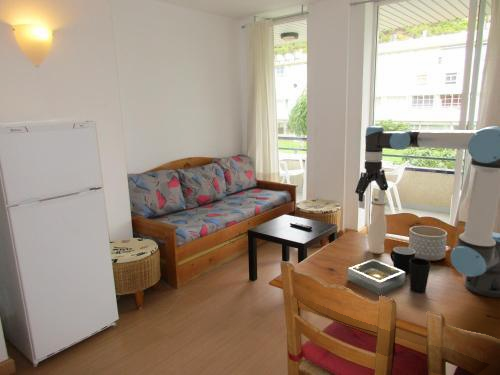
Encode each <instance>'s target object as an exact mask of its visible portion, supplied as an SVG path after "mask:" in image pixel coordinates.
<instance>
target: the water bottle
mask: <svg viewBox="0 0 500 375" xmlns="http://www.w3.org/2000/svg"><path fill="white" fill-rule="evenodd" d="M370 204H371V205H372V207H371V211H370V223H369V226H368V230H367V236H366V239H367V240H366V241H367V244H368V245H367V247H368V252H370V253H373V254H377V255H378V254H383V253H384V252H385V244H384V243H385V240H386V236H387V229H388V227H387V226H388V225H387V217H386V214H385V213H386V212H385V208H386V207H385V206H386V205H387V203H386V201H385V199H384V204H380V203H378V196H377V195H376V196H373V200H372V201H370Z"/></svg>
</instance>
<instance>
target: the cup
mask: <svg viewBox="0 0 500 375" xmlns="http://www.w3.org/2000/svg"><path fill="white" fill-rule="evenodd" d="M409 264H410V274H409V289H410V291H411V292H413V293H417V294H424V293H426V290H427V285H428V280H429V275H430V269H431V265H432V264H431V261H428V260H425V259H421V258H416V257H415V258H412V259H410V260H409Z"/></svg>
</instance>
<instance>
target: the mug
mask: <svg viewBox="0 0 500 375" xmlns="http://www.w3.org/2000/svg"><path fill="white" fill-rule="evenodd" d="M389 256H390V260H391V261H392V264H393V267H394V268H397V269H399V270H402V271H405V276H407V275H410V264H409V260H410V259H412V258H416V257H415V251H414V250H413V249H411V248H408V247H407V246H396V247H394V248H393V249H392V250H391V252H390V255H389Z"/></svg>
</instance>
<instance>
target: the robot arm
mask: <svg viewBox="0 0 500 375" xmlns="http://www.w3.org/2000/svg"><path fill="white" fill-rule="evenodd" d="M384 129H385V128H384V127H383V126H381V125H380V126H377V125H375V126H374V125H373V126H367V127H366V129H365V135H364V137H365V141H364V142H365V149H364V151H365V152H364V160H365V161H364V170H365V172H360V177H359V179H358V183H357V186H356V188H355V190H354V191H355V194H357V195H358V208H359V209H362V210H363V209H364V210H365V207H366V206H365V205H366V194H365V192H366V191H367V189H368V187H369V185H370V184H371V183H372V182H374V181H375V183H376V185H377V187H378V194H377V195H378V203H380V204H384V200H385V194H386V191H387V190H388V189H389V185H388V182H387V181H388V180H387V178H386V174H385V173H386V172H385V169H382V167H383V162H382V160H383V149H385V150H386V149H387V150H395V151H399V150H400V151H401V150H403V151H404V150H406V149H407V148H427V149H428V148H429V149H443V150H444V149H445V150H448V149H449V150H464V151H465V150H467V151H468V153H469V155H470V158H471V161H470V165H471V167H473V169H474V173H473V180H472V186H471V190H470V191H471V192H470V197H469V204H468V209H467V216H466V221H465V228H464V231H463V232H462V233H460V234H459V235H458V240H457V246H456V247H454V248H453V249H452V251H451V252H450V257H449V258H450V263H451V264H452V266H453V267H454V268H455V270H456V272H458V273H460V274H461V275H463V276H466V277H465V279H464V286H465V288H467V289H468V290H469V291H471V292H473V293H475V294H478V295H480V296H485V297H490V298H500V233H499V232H495V231H494V229H495V228H494V227H495V222H496V217H497V211H498V208H499V207H498V206H499V202H500V125H498V126H497V125H493V126H487V127H483V128H481V129H479V130H477V129H476V130H475V129H474V130H472V129H471V130H468V129H467V130H465V129H464V130H462V129H461V130H460V129H459V130H458V129H455V130H453V129H452V130H450V129H449V130H447V129H445V130H444V129H441V130H439V129H433V130H432V129H425V130H424V129H422V130H421V129H410V130H399V131H396V130H395V131H385V130H384Z"/></svg>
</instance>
